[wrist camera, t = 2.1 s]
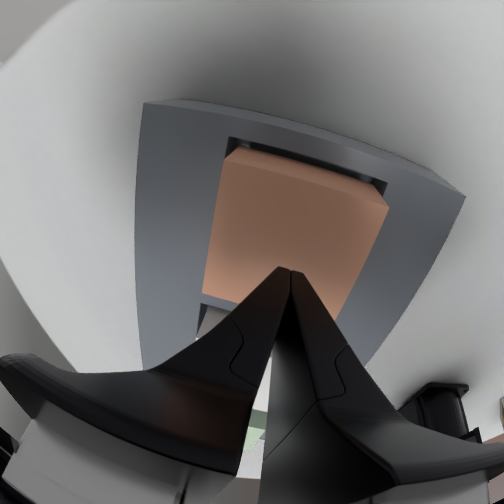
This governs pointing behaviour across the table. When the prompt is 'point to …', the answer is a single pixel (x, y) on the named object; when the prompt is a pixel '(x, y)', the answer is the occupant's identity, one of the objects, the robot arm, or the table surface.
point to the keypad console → (203, 207)
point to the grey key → (261, 401)
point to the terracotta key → (289, 226)
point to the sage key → (255, 428)
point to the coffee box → (502, 411)
